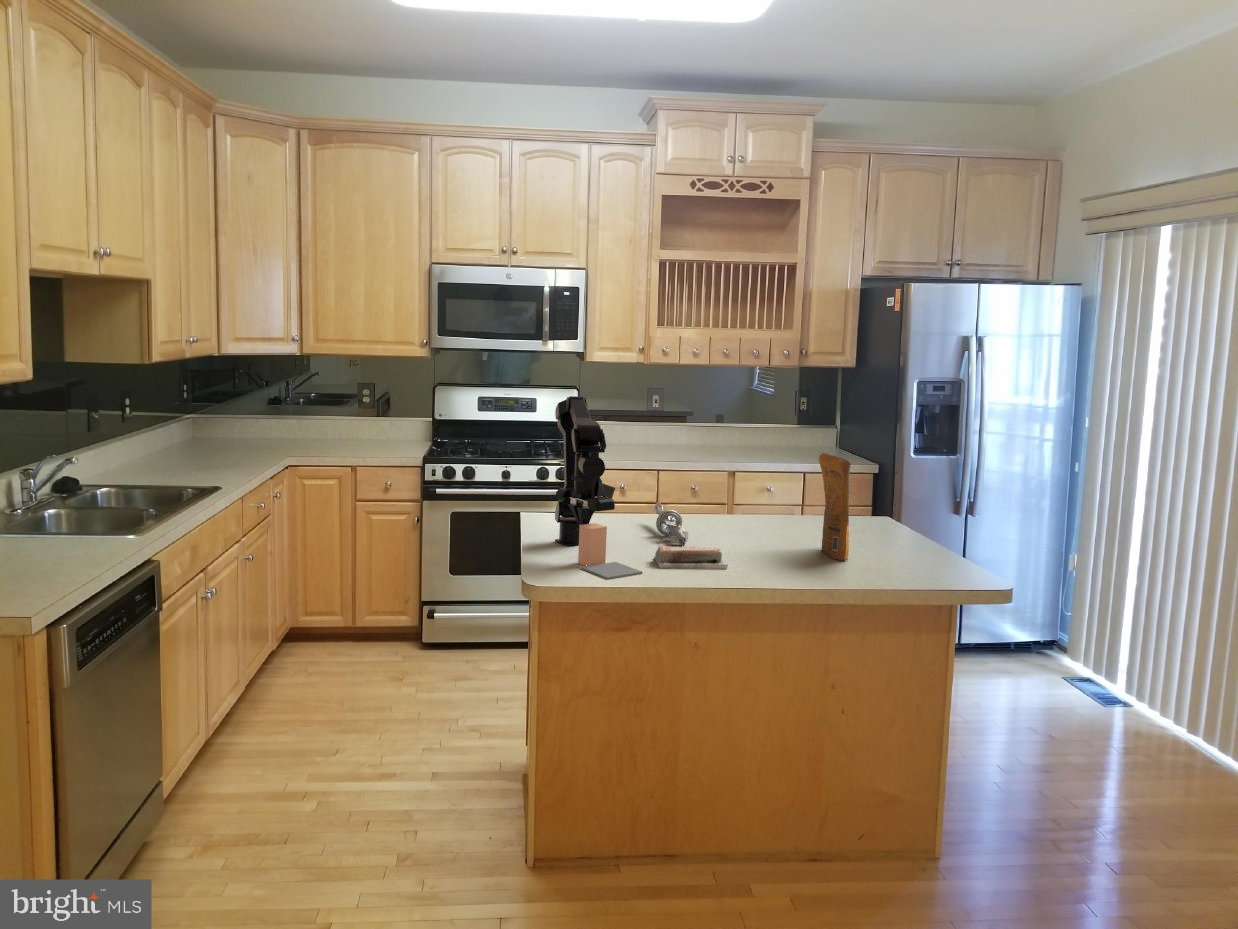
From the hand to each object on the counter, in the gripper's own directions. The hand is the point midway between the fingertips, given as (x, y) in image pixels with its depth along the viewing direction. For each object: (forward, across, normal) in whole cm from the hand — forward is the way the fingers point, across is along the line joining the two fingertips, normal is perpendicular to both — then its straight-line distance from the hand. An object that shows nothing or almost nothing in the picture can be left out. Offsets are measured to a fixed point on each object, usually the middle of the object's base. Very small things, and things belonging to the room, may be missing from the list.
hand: (583, 531), depth 259 cm
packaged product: (+8, -16, -23) cm, 30 cm away
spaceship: (+8, +11, -39) cm, 41 cm away
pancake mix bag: (+8, -28, -66) cm, 72 cm away
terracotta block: (+8, -4, 0) cm, 9 cm away
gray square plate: (+8, -12, 0) cm, 15 cm away
